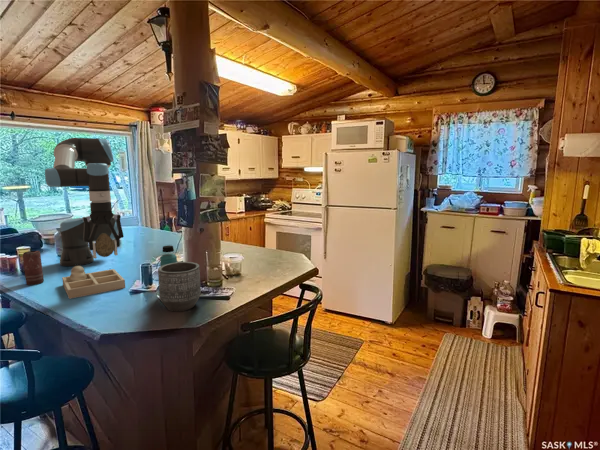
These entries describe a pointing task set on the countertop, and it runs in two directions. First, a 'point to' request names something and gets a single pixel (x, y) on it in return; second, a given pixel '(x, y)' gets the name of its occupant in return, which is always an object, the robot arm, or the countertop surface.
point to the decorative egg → (104, 245)
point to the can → (33, 267)
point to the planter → (179, 285)
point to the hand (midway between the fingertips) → (105, 256)
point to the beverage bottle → (168, 256)
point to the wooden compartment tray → (93, 283)
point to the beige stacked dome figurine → (77, 274)
